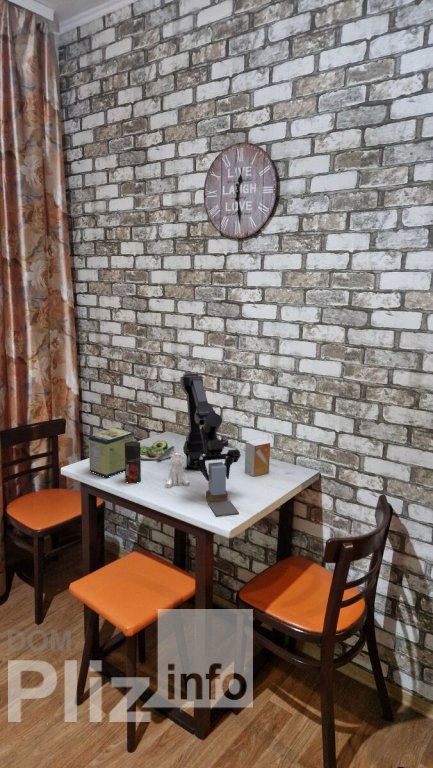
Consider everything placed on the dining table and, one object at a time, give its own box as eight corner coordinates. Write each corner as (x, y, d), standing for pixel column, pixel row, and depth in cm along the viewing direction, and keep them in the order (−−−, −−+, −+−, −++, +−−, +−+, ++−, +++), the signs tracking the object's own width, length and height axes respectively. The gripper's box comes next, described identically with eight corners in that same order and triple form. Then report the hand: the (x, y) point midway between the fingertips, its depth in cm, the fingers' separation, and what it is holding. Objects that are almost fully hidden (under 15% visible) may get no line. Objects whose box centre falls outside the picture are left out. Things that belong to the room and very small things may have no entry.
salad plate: (178, 462, 224) (178, 452, 223) (136, 464, 221) (135, 454, 220) (173, 448, 243) (173, 438, 242) (134, 449, 240) (134, 440, 239)
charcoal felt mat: (208, 504, 183) (208, 502, 182) (230, 502, 185) (230, 500, 185) (216, 516, 173) (216, 515, 173) (239, 514, 175) (239, 512, 175)
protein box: (135, 467, 217) (134, 431, 214) (106, 478, 204) (105, 440, 201) (117, 462, 223) (116, 427, 220) (88, 472, 210) (87, 435, 207)
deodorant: (143, 479, 205) (143, 442, 202) (136, 484, 199) (135, 446, 196) (130, 476, 206) (129, 440, 203) (122, 482, 201) (121, 445, 198)
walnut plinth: (205, 498, 187) (205, 490, 187) (224, 496, 189) (224, 488, 189) (208, 503, 184) (208, 495, 183) (227, 500, 186) (227, 493, 185)
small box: (253, 477, 208) (254, 445, 206) (244, 472, 213) (245, 441, 211) (269, 473, 213) (270, 442, 210) (259, 468, 218) (260, 438, 215)
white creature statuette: (165, 488, 196) (165, 458, 193) (162, 480, 204) (162, 450, 201) (190, 487, 198) (190, 456, 195) (186, 478, 206) (186, 449, 204)
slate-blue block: (208, 489, 188) (208, 463, 186) (221, 488, 189) (222, 462, 187) (212, 495, 183) (212, 468, 181) (225, 493, 184) (226, 466, 182)
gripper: (188, 431, 183) (196, 472, 175) (239, 427, 188) (249, 467, 180) (183, 445, 192) (190, 485, 184) (232, 442, 197) (241, 480, 189)
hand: (218, 479), depth 184 cm, fingers open, 7 cm apart
